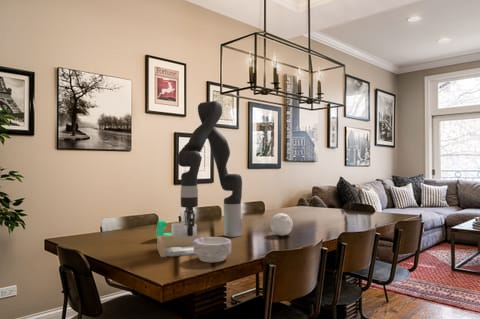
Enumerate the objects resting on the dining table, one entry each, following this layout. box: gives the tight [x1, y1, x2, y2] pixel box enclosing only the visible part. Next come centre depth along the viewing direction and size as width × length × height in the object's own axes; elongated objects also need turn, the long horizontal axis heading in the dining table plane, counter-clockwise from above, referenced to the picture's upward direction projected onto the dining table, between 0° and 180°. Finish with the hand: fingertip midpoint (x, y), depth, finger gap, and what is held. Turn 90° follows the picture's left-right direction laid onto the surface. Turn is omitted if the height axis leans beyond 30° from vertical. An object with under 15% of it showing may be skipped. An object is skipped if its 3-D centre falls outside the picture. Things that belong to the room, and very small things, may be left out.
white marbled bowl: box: [193, 236, 232, 264], centre depth 149 cm, size 15×15×8 cm
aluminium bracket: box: [170, 222, 198, 238], centre depth 165 cm, size 10×8×5 cm
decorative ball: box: [270, 212, 294, 237], centre depth 200 cm, size 12×12×12 cm
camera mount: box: [155, 219, 171, 238], centre depth 190 cm, size 12×8×10 cm, turn 25°
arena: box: [156, 235, 198, 258], centre depth 164 cm, size 18×16×6 cm
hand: (189, 234), depth 164 cm, fingers closed on aluminium bracket, 3 cm apart
